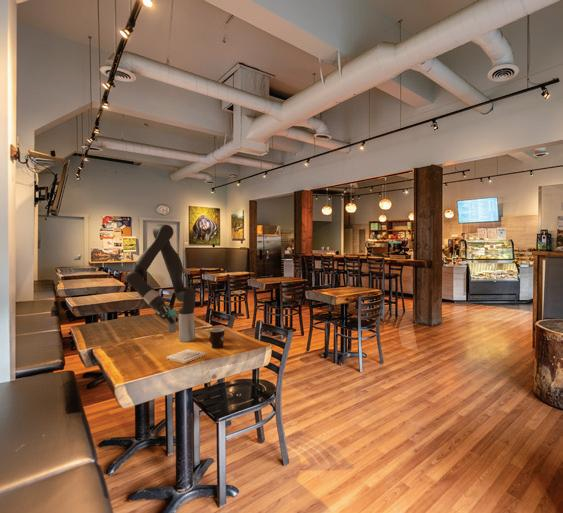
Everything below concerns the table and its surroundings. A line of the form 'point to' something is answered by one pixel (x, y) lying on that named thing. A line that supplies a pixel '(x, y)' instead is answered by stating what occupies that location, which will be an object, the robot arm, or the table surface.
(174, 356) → the notepad
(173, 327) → the marker
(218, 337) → the coffee mug
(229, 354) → the table surface
